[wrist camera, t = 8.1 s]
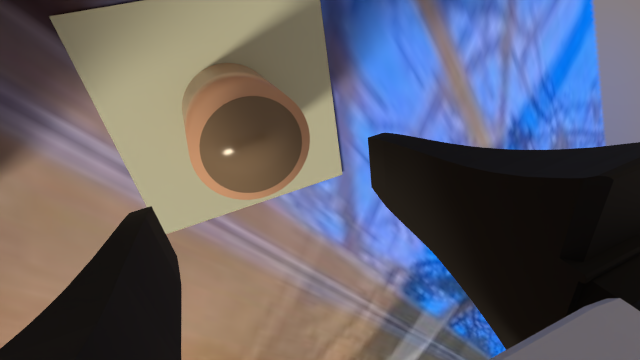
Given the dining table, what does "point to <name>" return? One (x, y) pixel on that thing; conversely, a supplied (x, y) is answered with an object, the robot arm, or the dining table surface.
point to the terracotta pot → (243, 132)
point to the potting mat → (177, 72)
